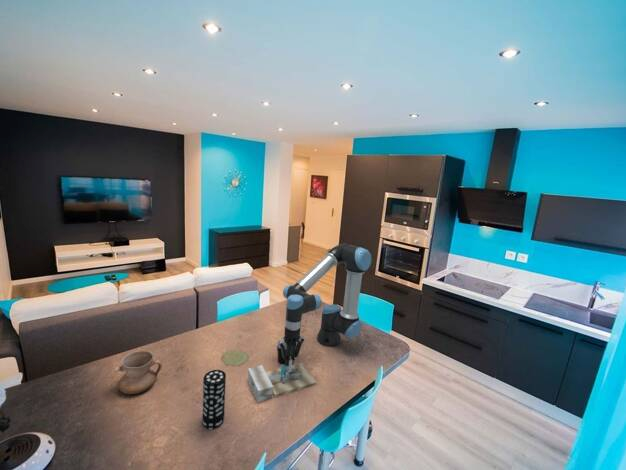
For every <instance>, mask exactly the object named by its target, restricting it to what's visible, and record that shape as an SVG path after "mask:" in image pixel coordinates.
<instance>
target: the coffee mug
mask: <svg viewBox="0 0 626 470" xmlns="http://www.w3.org/2000/svg"><path fill="white" fill-rule="evenodd" d="M286 346H287V345H286V343H285V342H284V347H285V353H286ZM276 349H277V352H276V353H277V363H278V364H279V363H280V364H279V365H282V364H285V363H286V360H284V359H283V357H282V352H281V347H280V344H279V341H278V342H277V343H276ZM290 354H291V351H290Z"/></svg>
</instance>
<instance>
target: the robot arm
mask: <svg viewBox="0 0 626 470" xmlns="http://www.w3.org/2000/svg"><path fill="white" fill-rule="evenodd" d="M339 264H344V265H345V267H344V270H345V271H346V272H347V273H346V280H345V289H344V290H345V291H344V295H343V296H344V297H343V304H342V305H343V306H342V307H341V306H340V305H338V304H326V305H324V306H323V307H322V312H321V323H320V329H319V331H318V333H317V335H316V340H317V341H316V342H318V343H319V344H320V345H322V346H325V347H330V348H332V347H337V346H339V345H340V344H341V339H342V338H341V334H342V335H344V337H346V338H349V339H355V338H357V337H358V336H359V334H360V333H361V331H362V328H363V322H362V321H361V320H360V314H359V312H358V311H359V302H360V293H361V287H362V278H363V275H364V273H366V271H367V270H368V269H369V268H370V266H371V265H372V255H371V253H370V251H369V250H368V249H366V248H363V247H360V246H356V245H352V244H349V243H340V244H337V245H335V246H334V247H331V249H329V250H327V252H326V253H325V254H324V257H322V258H321V260H319V261H318V262H317V263H316V264H315V265H314V266H313V267H311V268H310V269H309V270H308V272H306V273H305V274H304V275H303V276H302V277H300V279H298V280H297V281H296V282H295V283H294V284H293V285H292V284H288V285H286V286H285V287H284V288H283V290H282V296H283V297H284V298H285V299H287V301H286V307H285V308H286V310H285V311H286V313H285V320H284V321H285V323H284V325H285V326H284V335H283V337H282V340H279V341H278V342H279V344H280V347H281V352H282V357H283V359H284V360H286V363H285V364H286V367H287V371H288V372H291V370H292V365H295V364H294V363H295V360H296V358H298V357H299V353H300V351H301V348H302V345H303V343H304V342H305V339H304V338H303V336H301V327H302V318H303V314H306V313H309V312H313V311H316V310H318V309H320V308H321V306H322V302H323V301H322V298H321V296H320V295H319V294H318V293H317V294H316V293H314V294H313V293H312V294H309V293H307V292H308V291H309V290H310V289H312V287H314V285H315V284H316V283H318V282H319V280H320V279H322V278H323V277H324V276H325V275H326V274H327V273H328V272H330V270H331V269H332V268H333V267H337V266H338V265H339ZM284 342H285V343H286V345H287V346H286V353H285V347H284ZM290 351H291V354H290Z"/></svg>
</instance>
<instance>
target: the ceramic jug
mask: <svg viewBox="0 0 626 470" xmlns="http://www.w3.org/2000/svg"><path fill="white" fill-rule="evenodd" d="M120 364H121V365H120V366H119V365H118V366H117V367H115V368H114V372H122V373H124V374H122V376H121V377H120V378H119V381H117V382H116V385H117V387H118V390H119V391H120V392H122V393H123V394H126V395H136V394H139V393H142V392H144V391H146V390H148V389H149V388H151V387H152V386H153V385H154V383H155V382H156V381H157V377H158V374H159V373H160V371H161V369H162V368H163V367H162V366H163V363H162V361H161V360H159V359H156V360H154V354H153V352H152V351H150V350H135V351H133V352H130V353H129V354H126V355H124V357H123V358H122V359H121V363H120ZM156 364H157V365H158V368H157V369H156V371H154V369H152V367H153V366H154V365H156Z"/></svg>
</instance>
